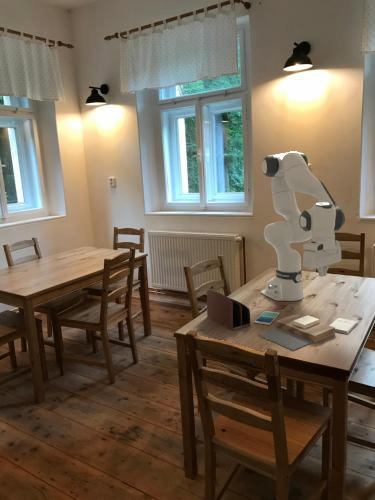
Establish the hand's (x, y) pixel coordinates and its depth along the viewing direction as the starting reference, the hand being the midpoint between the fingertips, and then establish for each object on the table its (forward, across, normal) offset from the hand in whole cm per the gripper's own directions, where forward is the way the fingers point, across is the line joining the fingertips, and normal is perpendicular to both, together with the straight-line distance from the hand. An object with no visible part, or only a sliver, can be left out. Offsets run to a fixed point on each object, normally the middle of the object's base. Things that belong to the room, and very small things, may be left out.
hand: (322, 275), depth 168 cm
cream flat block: (+18, +10, 0) cm, 21 cm away
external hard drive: (+22, -4, +7) cm, 23 cm away
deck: (+21, +11, 0) cm, 24 cm away
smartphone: (+22, +12, -20) cm, 32 cm away
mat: (+21, +22, 0) cm, 31 cm away
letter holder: (+22, +27, -29) cm, 45 cm away
